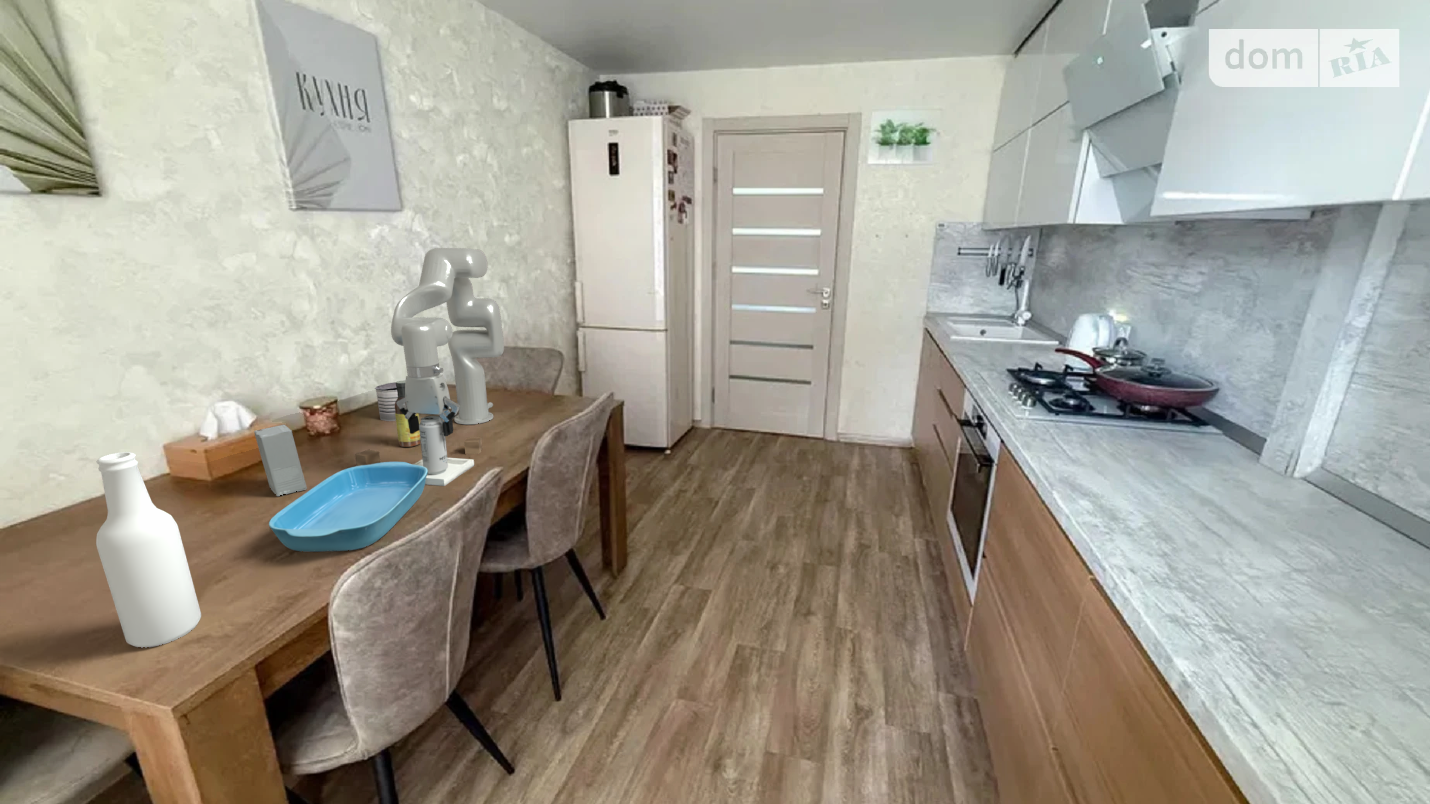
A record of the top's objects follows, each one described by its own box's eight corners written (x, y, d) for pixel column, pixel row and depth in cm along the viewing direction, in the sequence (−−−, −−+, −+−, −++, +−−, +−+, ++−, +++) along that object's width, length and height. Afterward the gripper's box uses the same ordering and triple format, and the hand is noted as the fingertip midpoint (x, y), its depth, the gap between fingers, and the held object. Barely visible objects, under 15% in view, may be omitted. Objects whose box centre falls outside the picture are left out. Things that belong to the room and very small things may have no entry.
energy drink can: (447, 474, 151) (442, 420, 147) (422, 476, 149) (416, 422, 145) (449, 466, 157) (444, 414, 153) (425, 468, 155) (419, 415, 151)
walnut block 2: (468, 450, 171) (466, 437, 170) (482, 449, 171) (481, 436, 170) (465, 454, 167) (464, 442, 166) (479, 454, 168) (478, 441, 167)
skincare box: (307, 490, 142) (296, 430, 137) (272, 498, 137) (259, 436, 132) (299, 480, 147) (288, 422, 143) (265, 488, 142) (252, 428, 138)
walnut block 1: (371, 466, 157) (368, 449, 156) (381, 468, 156) (378, 451, 154) (357, 471, 154) (354, 454, 152) (367, 473, 152) (365, 456, 151)
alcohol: (111, 645, 87) (53, 464, 79) (174, 610, 96) (127, 443, 87) (156, 654, 86) (102, 470, 77) (216, 618, 94) (173, 448, 86)
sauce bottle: (415, 448, 171) (406, 384, 165) (394, 447, 171) (385, 384, 165) (426, 441, 177) (418, 379, 172) (406, 440, 177) (398, 379, 172)
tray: (428, 462, 161) (427, 456, 160) (474, 465, 159) (473, 459, 158) (394, 481, 147) (393, 475, 147) (444, 485, 145) (443, 479, 145)
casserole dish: (372, 564, 111) (366, 531, 109) (251, 567, 109) (243, 533, 107) (443, 486, 146) (440, 460, 144) (353, 487, 144) (348, 461, 142)
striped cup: (395, 423, 194) (390, 389, 191) (371, 418, 198) (366, 385, 194) (423, 414, 204) (418, 381, 201) (399, 410, 208) (395, 378, 205)
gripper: (463, 369, 148) (469, 430, 153) (402, 365, 150) (411, 426, 155) (446, 376, 141) (453, 440, 146) (382, 372, 143) (392, 435, 148)
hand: (431, 433), depth 151 cm, fingers open, 9 cm apart
